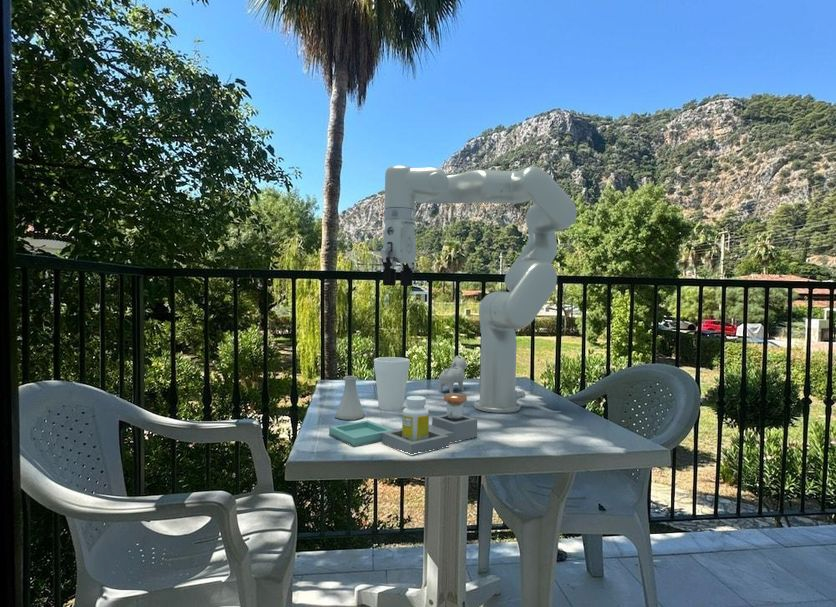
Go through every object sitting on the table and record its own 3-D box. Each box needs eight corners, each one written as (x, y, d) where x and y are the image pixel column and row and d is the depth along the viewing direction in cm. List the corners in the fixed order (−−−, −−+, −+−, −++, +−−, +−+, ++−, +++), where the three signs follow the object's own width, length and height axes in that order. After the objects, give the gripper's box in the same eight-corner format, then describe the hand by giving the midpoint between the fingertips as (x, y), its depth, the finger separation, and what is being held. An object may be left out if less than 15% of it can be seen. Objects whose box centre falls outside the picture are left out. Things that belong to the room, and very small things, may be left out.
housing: (450, 428, 120) (451, 411, 120) (481, 438, 113) (482, 420, 113) (381, 443, 108) (382, 423, 108) (411, 455, 101) (411, 435, 100)
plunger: (455, 422, 118) (455, 392, 118) (470, 428, 114) (471, 396, 114) (438, 426, 115) (439, 394, 114) (453, 431, 111) (454, 398, 111)
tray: (367, 428, 119) (368, 420, 119) (393, 438, 111) (394, 430, 111) (329, 435, 113) (329, 427, 113) (353, 447, 105) (354, 438, 105)
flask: (369, 415, 131) (370, 375, 131) (356, 422, 124) (357, 380, 124) (343, 412, 134) (344, 373, 133) (329, 419, 127) (330, 378, 126)
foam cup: (395, 414, 133) (396, 363, 132) (366, 408, 138) (367, 359, 137) (415, 407, 141) (416, 359, 141) (387, 402, 146) (388, 356, 145)
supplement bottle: (429, 441, 110) (430, 395, 110) (427, 449, 104) (428, 401, 104) (403, 440, 110) (404, 394, 110) (400, 448, 105) (401, 400, 105)
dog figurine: (470, 388, 169) (471, 356, 168) (451, 395, 158) (452, 360, 157) (456, 386, 171) (457, 354, 171) (436, 392, 161) (437, 358, 160)
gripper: (397, 211, 121) (396, 285, 122) (426, 221, 137) (425, 286, 137) (369, 213, 124) (367, 285, 125) (400, 221, 140) (399, 285, 140)
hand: (397, 285), depth 131 cm, fingers open, 9 cm apart
